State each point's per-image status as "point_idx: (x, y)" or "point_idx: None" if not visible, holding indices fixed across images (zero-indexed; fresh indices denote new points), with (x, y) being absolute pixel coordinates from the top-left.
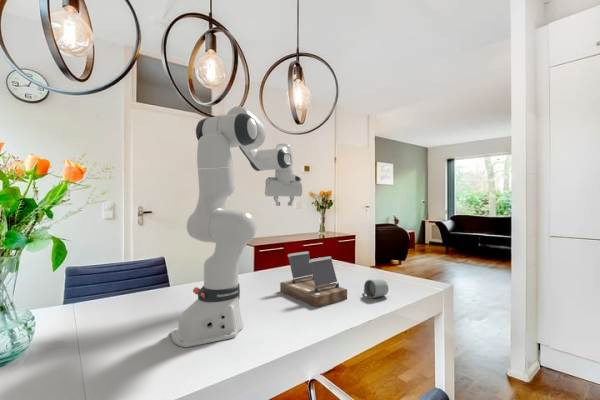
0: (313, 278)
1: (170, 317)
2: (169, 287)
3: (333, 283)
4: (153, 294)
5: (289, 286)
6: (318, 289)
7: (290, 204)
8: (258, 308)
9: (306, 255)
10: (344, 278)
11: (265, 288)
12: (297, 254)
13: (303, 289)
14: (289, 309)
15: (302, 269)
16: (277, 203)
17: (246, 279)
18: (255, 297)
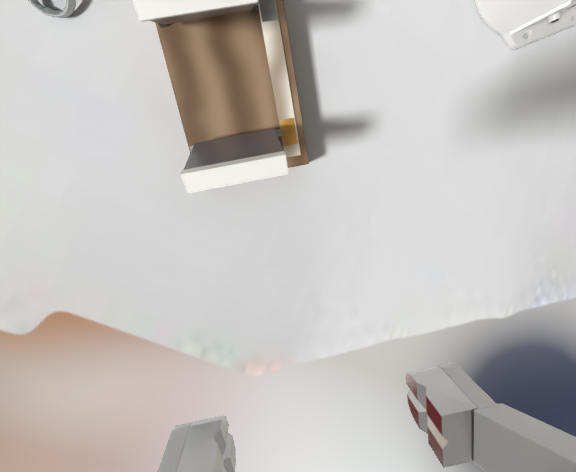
0: (252, 7)
1: (571, 104)
2: (514, 311)
3: None
4: (553, 273)
5: (300, 112)
6: (234, 30)
7: (207, 428)
8: (405, 59)
9: (199, 166)
10: (61, 195)
11: (329, 206)
12: (247, 158)
13: (279, 52)
14: (344, 7)
15: (237, 141)
16: (478, 389)
17: (343, 306)
18: (380, 145)
